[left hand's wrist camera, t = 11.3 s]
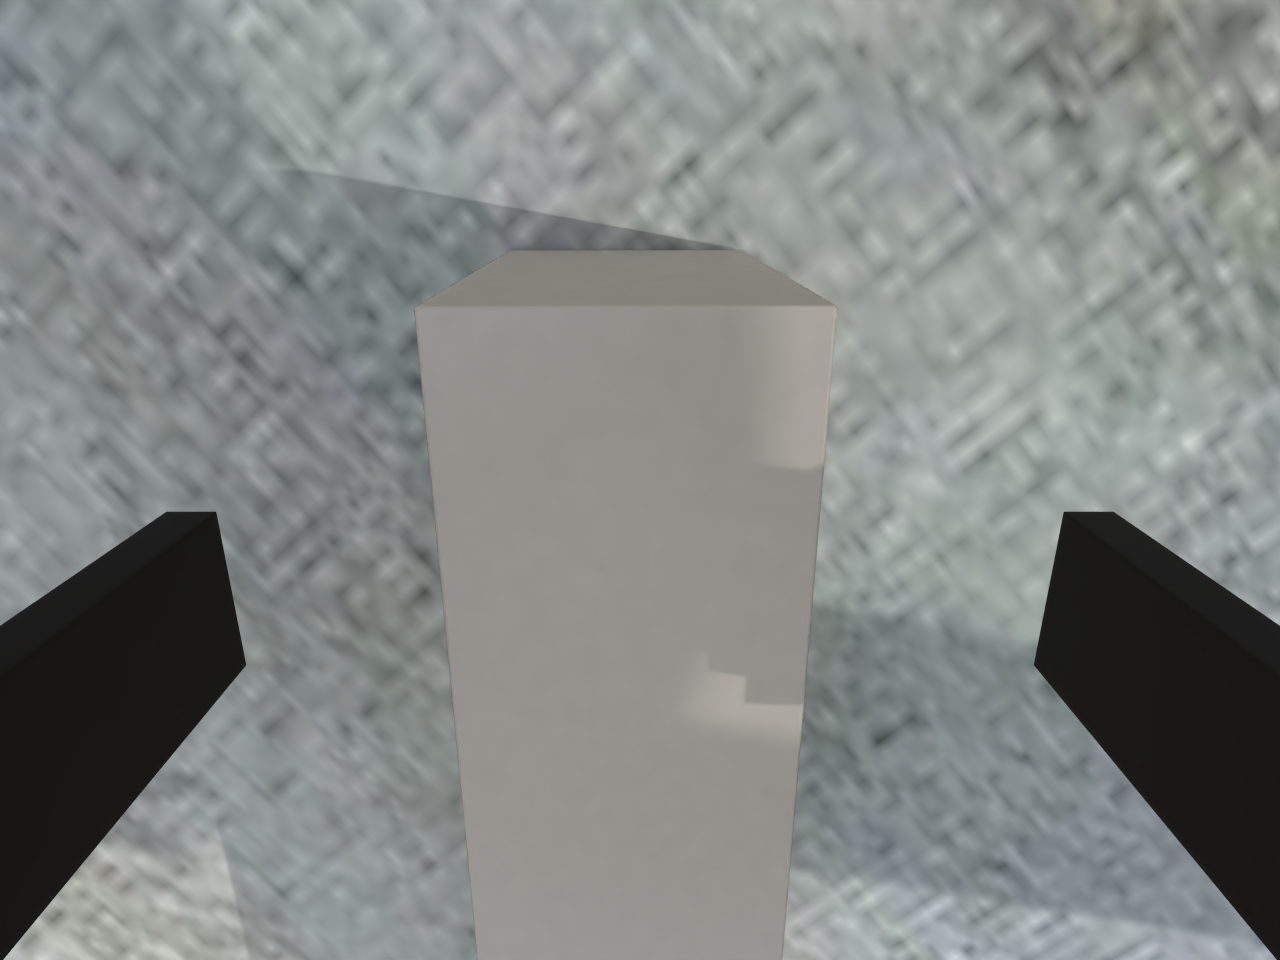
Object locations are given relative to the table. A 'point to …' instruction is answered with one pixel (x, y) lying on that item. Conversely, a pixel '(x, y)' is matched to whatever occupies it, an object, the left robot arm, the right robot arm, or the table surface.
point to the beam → (627, 591)
